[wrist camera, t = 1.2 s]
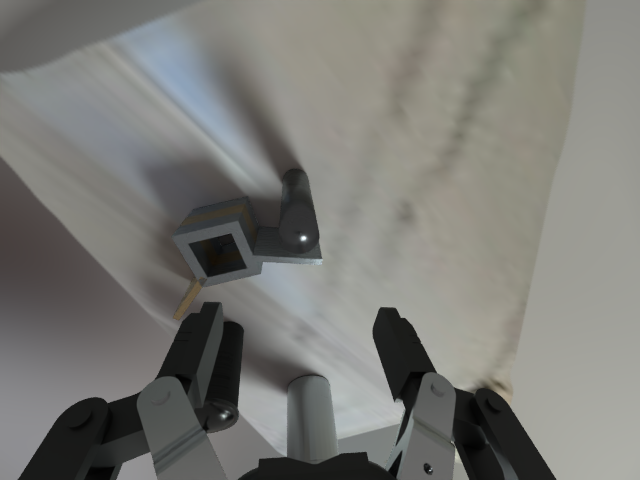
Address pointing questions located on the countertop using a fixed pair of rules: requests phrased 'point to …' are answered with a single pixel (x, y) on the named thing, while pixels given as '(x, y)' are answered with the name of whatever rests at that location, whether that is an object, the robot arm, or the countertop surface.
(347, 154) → the countertop surface
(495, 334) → the countertop surface
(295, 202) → the hinge pin
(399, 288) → the countertop surface
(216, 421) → the drinking cup
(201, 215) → the hinge
